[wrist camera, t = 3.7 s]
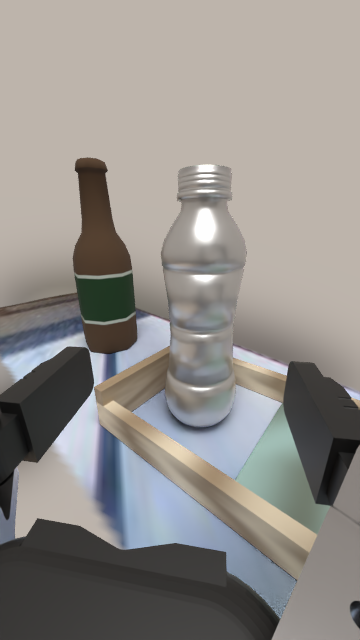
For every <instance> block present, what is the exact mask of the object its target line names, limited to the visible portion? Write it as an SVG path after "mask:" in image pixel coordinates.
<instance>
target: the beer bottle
mask: <svg viewBox="0 0 360 640" xmlns="http://www.w3.org/2000/svg"><path fill="white" fill-rule="evenodd" d="M75 171H76V172H77V173H78V178H79V191H80V203H81V214H82V233H81V235H80V237H79V239H78V241H77V243H76V245H75V249H74V255H73V265H74V274H75V280H76V287H77V293H78V299H79V305H80V311H81V317H82V323H83V329H84V334H85V339H86V342H87V344H88V346H89V348H90V350H91V351H92V352H98V353H105V354H111V353H115V352H119V351H123V350H127V349H129V348H130V347H131V346H132V345H133V344H134V343H135V342H136V340H137V324H136V311H135V299H134V287H133V274H132V266H131V259H130V255H129V253H128V251H127V248H126V246H125V244H124V243H123V241H122V240H121V239H120V237H119V236H118V235H117V233H116V231H115V227H114V224H113V220H112V214H111V208H110V201H109V195H108V189H107V182H106V177H105V173H106V172H107V171H108V170H107V168H106V165H105V162H103V161H101V160H98V159H96V158H80V159H78V160H77V161H76V163H75Z"/></svg>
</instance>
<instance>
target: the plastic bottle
mask: <svg viewBox="0 0 360 640" xmlns="http://www.w3.org/2000/svg"><path fill="white" fill-rule="evenodd" d="M231 178H232V173H231V168H228V167H225V166H219V165H198V166H190V167H185V168H182V169H180V170H179V174H178V187H179V188H178V189H179V190H178V191H179V193H178V194H177V201H179V202H181V203H182V206H181V212H180V213H179V215H178V217H177V218H176V220H175V221H174V223H173V224H172V226H171V228H170V230H169V232H168V234H167V236H166V238H165V240H164V243H163V247H162V251H161V258H162V266H163V273H164V279H165V285H166V290H167V297H168V304H169V317H170V321H171V322H170V331H171V338H170V354H169V367H168V370H167V375H166V383H165V395H166V399H167V404H168V407H169V409H170V411H171V413H172V414H173V415H174V416H175V417H176V418H177V419H178V420H179V421H181V422H182V423H184V424H186V425H189V426H193V427H208V426H212V425H215V424H217V423H218V422H220V421H221V420H223V419H224V418H225V417H226V416H227V415H228V414H229V412H230V411H231V409H232V405H233V402H234V399H235V394H236V386H235V375H234V369H233V328H234V323H233V321H234V319H235V312H236V304H237V299H238V294H239V289H240V285H241V280H242V276H243V271H244V269H243V267H244V266H245V262H246V254H247V251H246V246H245V241H244V238H243V236H242V234H241V232H240V230H239V228H238V226H237V224H236V223H235V221H234V220H233V218H232V216H231V215H230V213H229V212H228V207H227V201H230V200H232V192H231Z"/></svg>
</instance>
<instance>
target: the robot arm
mask: <svg viewBox="0 0 360 640" xmlns="http://www.w3.org/2000/svg"><path fill="white" fill-rule="evenodd" d="M93 385H94V378H93V372H92V365H91V359H90V353H89V350H88V349H87V348H85V347H66V348H65V349H63V350H62V351H61V352H60V353H58V354H57V355H56V356H55V357H53V358H52V359H50V360H47V361H45V362H43V363H41V364H40V365H39V366H37V367H36V368H35V369H33V370H32V372H29V373H28V374H27V375H26V376H24V377H23V379H20V380H19V381H18V382H16V383H15V384H14V385H12V386H11V387H10V388H9V389H7V390H6V391H5V392H4V393H2V394H1V395H0V640H360V410H359V409H358V406H357V405H356V403H355V402H354V401H353V400H351V397H350V395H349V394H348V393H347V391H346V390H345V389H344V387H342V386H341V385H340V384H338V383H337V382H335V381H334V380H333V379H331V378H327V377H323V375H322V374H321V372H320V371H319V370H318V368H317V367H316V365H315V364H314V363H310V362H294V361H292V362H290V364H289V367H288V372H287V378H286V384H285V390H284V397H283V407H284V413H285V416H286V419H287V422H288V425H289V428H290V431H291V434H292V437H293V439H294V442H295V445H296V448H297V451H298V454H299V457H300V460H301V463H302V466H303V469H304V472H305V475H306V478H307V481H308V483H309V486H310V489H311V492H312V495H313V498H314V501H315V504H321V505H328V506H330V508H329V510H328V512H327V514H326V516H325V519H324V521H323V523H322V525H321V528H320V530H319V532H318V535H317V537H316V539H315V541H314V544H313V546H312V548H311V551H310V553H309V555H308V557H307V560H306V562H305V564H304V567H303V569H302V571H301V573H300V576H299V578H298V580H297V583H296V585H295V587H294V589H293V592H292V594H291V596H290V599H289V601H288V603H287V605H286V608H285V610H284V612H283V615H282V617H281V619H279V617H278V616H277V615H276V613H275V612H274V611H273V610H272V609H271V607H270V606H269V605H268V604H267V603H266V602H265V601H264V600H263V598H262V597H260V596H259V595H258V594H257V593H256V592H255V591H254V590H253V589H252V588H251V587H250V586H248V585H247V584H245V583H244V582H243V581H241V580H240V579H239V578H237V577H236V576H234V575H232V574H230V573H228V572H227V571H226V552H222V551H217V550H211V549H205V548H200V547H194V546H189V545H183V544H178V543H173V544H166V545H158V546H151V547H144V548H137V549H129V550H121V549H118V548H116V547H114V546H113V545H111V544H109V543H108V542H106V541H104V540H103V539H101V538H99V537H97V536H96V535H94V534H92V533H91V532H89V531H87V530H86V529H84V528H82V527H81V526H77V525H71V524H66V523H60V522H55V521H49V520H44V519H37V520H36V522H35V524H34V525H33V526H32V528H31V530H30V531H29V533H28V534H27V536H26V537H21V538H17V539H15V516H16V503H17V490H18V477H19V472H18V469H17V466H18V465H19V463H20V462H21V461H29V462H36V463H37V462H38V461H39V460H40V459H41V457H42V456H43V455H44V454H45V452H46V451H47V450H48V449H49V447H50V446H51V445H52V443H53V442H54V441H55V439H56V438H57V437H58V436H59V434H60V433H61V432H62V430H63V429H64V428H65V427H66V425H67V424H68V423H69V421H70V420H71V419H72V417H73V416H74V415H75V414H76V412H77V411H78V410H79V408H80V407H81V406H82V405H83V403H84V402H85V401H86V399H87V398H88V397H89V396H90V394H91V392H92V390H93Z"/></svg>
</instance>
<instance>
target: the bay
mask: <svg viewBox="0 0 360 640" xmlns="http://www.w3.org/2000/svg"><path fill="white" fill-rule="evenodd" d="M169 354H170V346H168V347H167V348H165V349H163V350H161V351H159V352H157V353H156V354H154V355H152V356H150V357H148V358H146V359H145V360H143V361H141V362H139V363H137V364H135V365H134V366H132V367H130V368H128V369H126V370H124V371H123V372H121V373H119V374H117V375H115V376H113V377H112V378H110V379H108V380H106V381H104V382H103V383H101V384H99V385H97V386H95V387H94V390H95V396H96V402H97V408H98V414H99V421H100V425H101V426H103V427H104V428H105V429H107V430H108V431H109V432H110V433H112V434H113V435H114V436H115V437H117V438H118V439H119V440H120V441H122V442H123V443H124V444H125V445H127V446H128V447H129V448H131V449H132V450H133V451H134V452H136V453H137V454H138V455H139V456H141V457H142V458H143V459H144V460H146V461H147V462H148V463H149V464H151V465H152V466H153V467H155V468H156V469H157V470H158V471H160V472H161V473H162V474H163V475H165V476H166V477H167V478H168V479H170V480H171V481H172V482H173V483H175V484H176V485H177V486H179V487H180V488H181V489H182V490H184V491H185V492H186V493H187V494H189V495H190V496H191V497H192V498H194V499H195V500H196V501H197V502H199V503H200V504H201V505H203V506H204V507H205V508H206V509H208V510H209V511H210V512H211V513H213V514H214V515H215V516H216V517H218V518H219V519H220V520H221V521H223V522H224V523H225V524H227V525H228V526H229V527H230V528H232V529H233V530H234V531H235V532H237V533H238V534H239V535H240V536H242V537H243V538H244V539H246V540H247V541H248V542H249V543H251V544H252V545H253V546H254V547H256V548H257V549H258V550H259V551H261V552H262V553H263V554H264V555H266V556H267V557H268V558H270V559H271V560H272V561H273V562H275V563H276V564H277V565H278V566H280V567H281V568H282V569H283V570H285V571H286V572H287V573H288V574H290V575H291V576H292V577H294V578H295V579H296V580H298V578H299V576H300V573H301V571H302V569H303V567H304V564H305V562H306V560H307V557H308V555H309V553H310V551H311V548H312V546H313V544H314V541H315V539H316V537H317V535H318V532H319V530H320V528H321V525H322V523H323V521H324V519H325V516H326V514H327V512H328V510H329V508H330V506H328V505H321V504H315V501H314V498H313V495H312V492H311V489H310V486H309V483H308V481H307V478H306V475H305V472H304V469H303V466H302V463H301V460H300V457H299V454H298V451H297V448H296V445H295V442H294V439H293V437H292V434H291V431H290V428H289V425H288V422H287V419H286V416H285V413H284V407H283V397H284V390H285V384H286V378H287V376H286V375H283V374H280V373H277V372H274V371H271V370H268V369H265V368H262V367H259V366H256V365H253V364H250V363H247V362H244V361H241V360H238V359H235V358H233V369H234V375H235V384H238V385H240V386H242V387H245V388H247V389H250V390H252V391H255V392H257V393H260V394H262V395H265V396H267V397H270V398H272V399H275V400H277V401H280V402H282V405H281V406H280V408H279V410H278V411H277V413H276V414H275V416H274V418H273V419H272V421H271V423H270V424H269V426H268V427H267V429H266V431H265V432H264V434H263V436H262V437H261V439H260V441H259V442H258V444H257V445H256V447H255V449H254V450H253V452H252V454H251V455H250V457H249V458H248V460H247V462H246V463H245V465H244V467H243V468H242V470H241V471H240V473H239V475H238V476H237V478H236V480H233V479H232V478H230V477H229V476H227V475H226V474H224V473H223V472H221V471H220V470H218V469H217V468H215V467H214V466H212V465H211V464H209V463H208V462H206V461H205V460H203V459H201V458H200V457H198V456H197V455H195V454H194V453H192V452H191V451H189V450H188V449H186V448H185V447H183V446H182V445H180V444H179V443H177V442H176V441H174V440H173V439H171V438H170V437H168V436H167V435H165V434H163V433H162V432H160V431H159V430H157V429H156V428H154V427H153V426H151V425H150V424H148V423H147V422H145V421H144V420H142V419H141V418H139V417H138V416H136V415H135V414H133V413H132V411H134V410H135V409H136V408H138V407H139V406H140V405H142V404H143V403H145V402H146V401H147V400H149V399H150V398H152V397H153V396H154V395H156V394H157V393H159V392H160V391H161V390H163V389H164V388H165V383H166V375H167V370H168V367H169ZM351 400H353V401H354V402H355V403H356V405H357V406H358V409H359V410H360V400H357V399H354V398H351Z"/></svg>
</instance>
